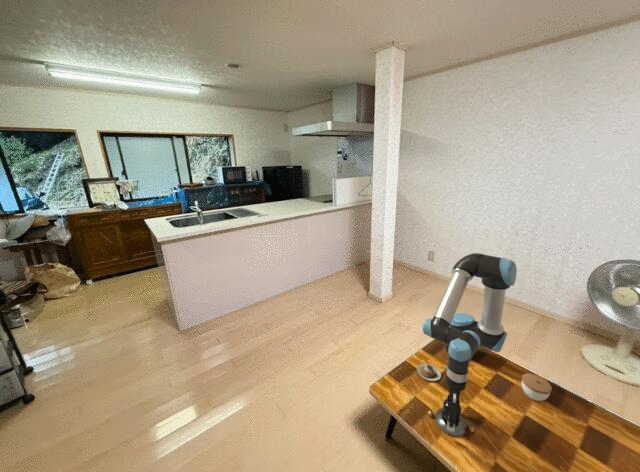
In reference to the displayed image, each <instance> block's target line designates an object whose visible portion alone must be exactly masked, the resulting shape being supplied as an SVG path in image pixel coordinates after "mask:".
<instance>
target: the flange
mask: <svg viewBox="0 0 640 472" xmlns="http://www.w3.org/2000/svg"><path fill="white" fill-rule="evenodd" d="M442 410H443V407H442V408H439V409H437V411H436V412H435V414H434V411H433V410H431V409H429V410H427V415H428V417H430V418H433V417H434V419H435V420H434V421H435V424H436V425H437V427H438V428H439V430H441V431H442V432H443V433H444V434H446V435H447V436H450V437H455V438H456V437H458V438H461V437H463V436H464V435H465V434H466V432H467V422H466V420H465V418H463V416H462V415H460V421H459V425H458V426H457V427H455V430H454V433H453V432H451V431H448V430H447V425H446V424H445V423H444V422H443V420H442ZM468 432H469V433H470V434H475V427H474V426H472V425H469V427H468Z"/></svg>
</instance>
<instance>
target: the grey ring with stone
mask: <svg viewBox="0 0 640 472" xmlns="http://www.w3.org/2000/svg"><path fill="white" fill-rule="evenodd" d="M416 371H417V373H418V375H419V376H420V377H421V378H422V379H424V380H426V381H428V382H429V381H430V382H437V381H439V380H441V379H442V373H441V370H440V369H439V368H437V366H435V365H433V364H430V363H420V364H418V366H417V367H416ZM435 375H436V376H435Z"/></svg>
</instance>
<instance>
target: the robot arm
mask: <svg viewBox="0 0 640 472" xmlns="http://www.w3.org/2000/svg"><path fill="white" fill-rule="evenodd" d="M517 271H518V270H517V265H516V263H515V261H514V260H512V259H507V258H505V257H498V256H493V255H488V254H482V253H479V252H478V253H477V252H475V253H473V252H472V253H469V254H467V255H465V256H463V257H462V258H460V259H459V260H457V262H456V263H455V264H454V266H453V267H452V269H451V276H450V279H449V280H448V283H447V286H446V288H445V291H444V292H443V295H442V296H441V300H440V301H439V303H438V305H437V308H436V311H435V312H434V315H433V316H432V318H426V319H425V321H424V322H423V325H422V333H423V334H424V335H425V336H428V337H429V338H431V339H433V340H436V341H438V342H441V343H444V350H445V351H446V353H447V363H446V364H447V365H445V366H444V369H446V371H445V372H446V373H445V383H446V386H448V387H449V388H448V392H449V394H448V395H449V400H450V409H449V416H448V417H447V418H446V419H448V422H447V430H448V431H451V432H453V433H454V430H455V425H456V415H457V405H458V402H459V401H460V396H461V392H463V391H465V390H466V388H467V382H468V381H467V380H468V376H469V368H470V362H471V360H472V358H473V357H474V355H475V354H476V352H477V351H478V349H479V347H480V346H481V347H482V348H485V349H487V350H489V351H493V352H496V353H500V352H501V351H502V348H503V346H504V345H505V341H506V339H507V337H508V331H505V328H504V326H503V325H502V319H503V312H504V305H505V299H506V291H507V290H508V289H510V288H511V286H514V285H515V283H516V280H517V274H518V273H517ZM474 277H477V278H480V279H481V283H482V285H483V286H484V291H483V299H482V300H483V301H482V311H481V319H479V321H476V319H475V317H474V316H473V315H472V314H470V313H467V312H457V309H458V307H459V305H460V303H461V300H462V297H463V296H464V293H465V290H466V288H467V285H468V283H469V282H471V281H472V280H473V278H474Z"/></svg>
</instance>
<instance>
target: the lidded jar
mask: <svg viewBox="0 0 640 472" xmlns="http://www.w3.org/2000/svg"><path fill="white" fill-rule="evenodd" d="M521 388H522V390H523V392H524V394H525V395H526V396H527V397H528V398H529V399H531V400H533V401H536V402H541V401H545V400H547V399H548V398H549V397H550V395H551V392H552V390H553V388H552V385H551V383H550V382H549V381H547V379H545V378H544V377H542V376H539V375H537V374H534V373H527V372H526V373H525V374H523V375H522V376H521Z"/></svg>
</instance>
